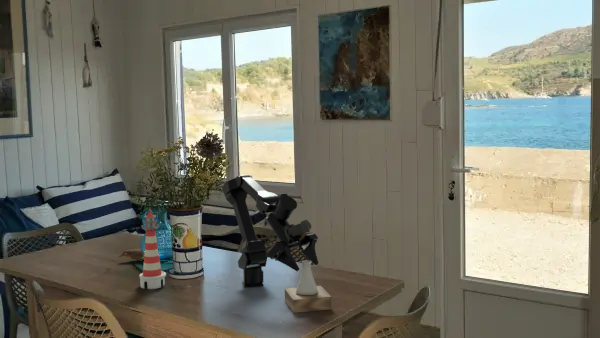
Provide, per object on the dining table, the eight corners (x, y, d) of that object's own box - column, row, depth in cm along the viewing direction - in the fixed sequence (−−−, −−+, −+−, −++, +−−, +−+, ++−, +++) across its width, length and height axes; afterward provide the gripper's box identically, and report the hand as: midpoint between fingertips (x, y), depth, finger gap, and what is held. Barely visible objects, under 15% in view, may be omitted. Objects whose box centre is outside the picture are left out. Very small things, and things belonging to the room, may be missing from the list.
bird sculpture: (180, 260, 252) (180, 248, 251) (117, 264, 247) (116, 252, 246) (180, 256, 258) (180, 245, 258) (118, 260, 253) (118, 248, 253)
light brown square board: (293, 312, 187) (293, 299, 187) (284, 300, 199) (284, 288, 198) (331, 309, 190) (331, 296, 190) (320, 297, 202) (320, 285, 201)
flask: (314, 296, 190) (314, 265, 188) (292, 294, 192) (292, 263, 191) (321, 290, 196) (321, 259, 195) (299, 288, 199) (299, 257, 198)
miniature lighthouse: (171, 283, 220) (168, 199, 217) (157, 290, 211) (154, 203, 208) (149, 281, 223) (146, 198, 220) (134, 288, 214) (130, 202, 211)
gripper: (274, 216, 188) (302, 258, 182) (313, 208, 202) (340, 246, 196) (256, 238, 194) (282, 279, 188) (295, 229, 208) (321, 266, 202)
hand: (308, 267), depth 193 cm, fingers open, 9 cm apart
